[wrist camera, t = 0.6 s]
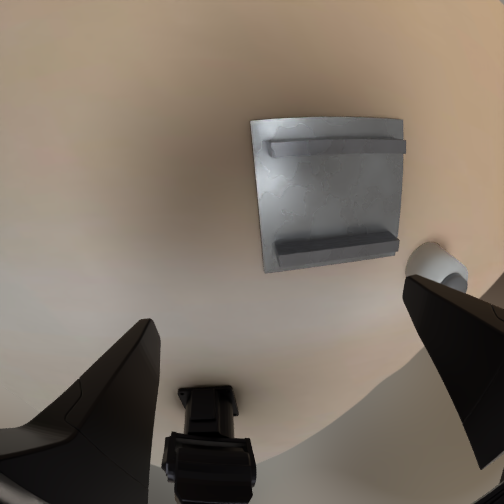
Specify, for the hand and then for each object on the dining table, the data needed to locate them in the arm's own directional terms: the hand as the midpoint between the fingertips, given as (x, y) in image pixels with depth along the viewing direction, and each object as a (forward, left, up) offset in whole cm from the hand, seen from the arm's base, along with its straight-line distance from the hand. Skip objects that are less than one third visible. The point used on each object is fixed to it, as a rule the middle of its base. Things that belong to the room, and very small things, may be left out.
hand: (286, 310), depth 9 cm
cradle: (0, -6, -14) cm, 15 cm away
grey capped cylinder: (-8, -17, -14) cm, 23 cm away
